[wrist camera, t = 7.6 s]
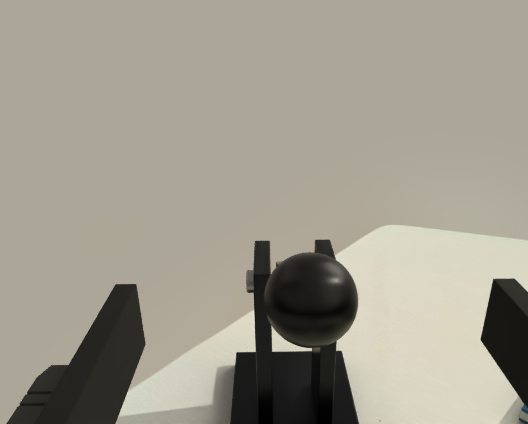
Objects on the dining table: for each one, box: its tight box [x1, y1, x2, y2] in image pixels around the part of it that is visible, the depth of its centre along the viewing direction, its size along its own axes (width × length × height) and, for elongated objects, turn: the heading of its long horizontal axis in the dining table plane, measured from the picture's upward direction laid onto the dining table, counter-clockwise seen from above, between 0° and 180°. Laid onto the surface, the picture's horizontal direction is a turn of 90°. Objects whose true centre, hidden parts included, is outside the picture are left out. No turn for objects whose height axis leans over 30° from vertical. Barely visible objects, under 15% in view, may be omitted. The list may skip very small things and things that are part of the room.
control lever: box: [264, 252, 358, 348], centre depth 22 cm, size 14×4×4 cm, turn 0°
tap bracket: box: [230, 240, 359, 424], centre depth 30 cm, size 12×9×14 cm
